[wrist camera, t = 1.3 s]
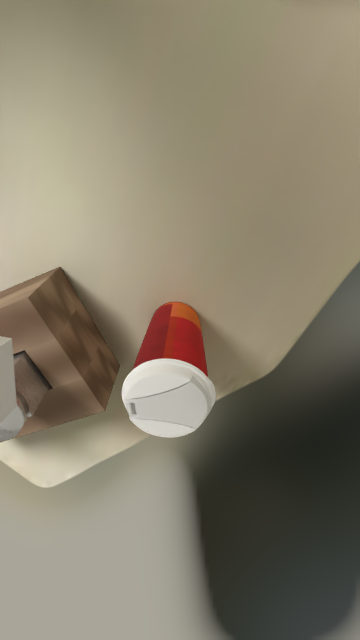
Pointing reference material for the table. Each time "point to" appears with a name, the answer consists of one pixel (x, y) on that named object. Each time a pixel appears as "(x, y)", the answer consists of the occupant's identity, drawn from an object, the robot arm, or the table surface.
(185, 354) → the paper cup
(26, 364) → the grey button
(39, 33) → the table surface
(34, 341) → the button console
